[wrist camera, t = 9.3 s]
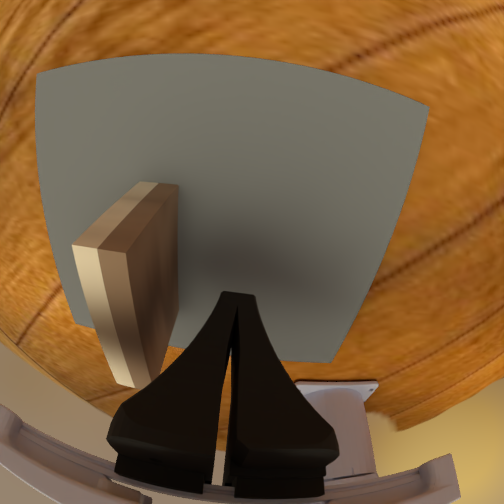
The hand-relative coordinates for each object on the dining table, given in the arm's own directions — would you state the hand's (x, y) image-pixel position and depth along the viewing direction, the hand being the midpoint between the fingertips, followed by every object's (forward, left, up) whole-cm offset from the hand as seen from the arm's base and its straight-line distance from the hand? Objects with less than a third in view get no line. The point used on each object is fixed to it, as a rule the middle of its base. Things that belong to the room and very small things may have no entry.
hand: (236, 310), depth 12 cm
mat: (+1, +2, -4) cm, 5 cm away
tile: (0, +4, -4) cm, 6 cm away
